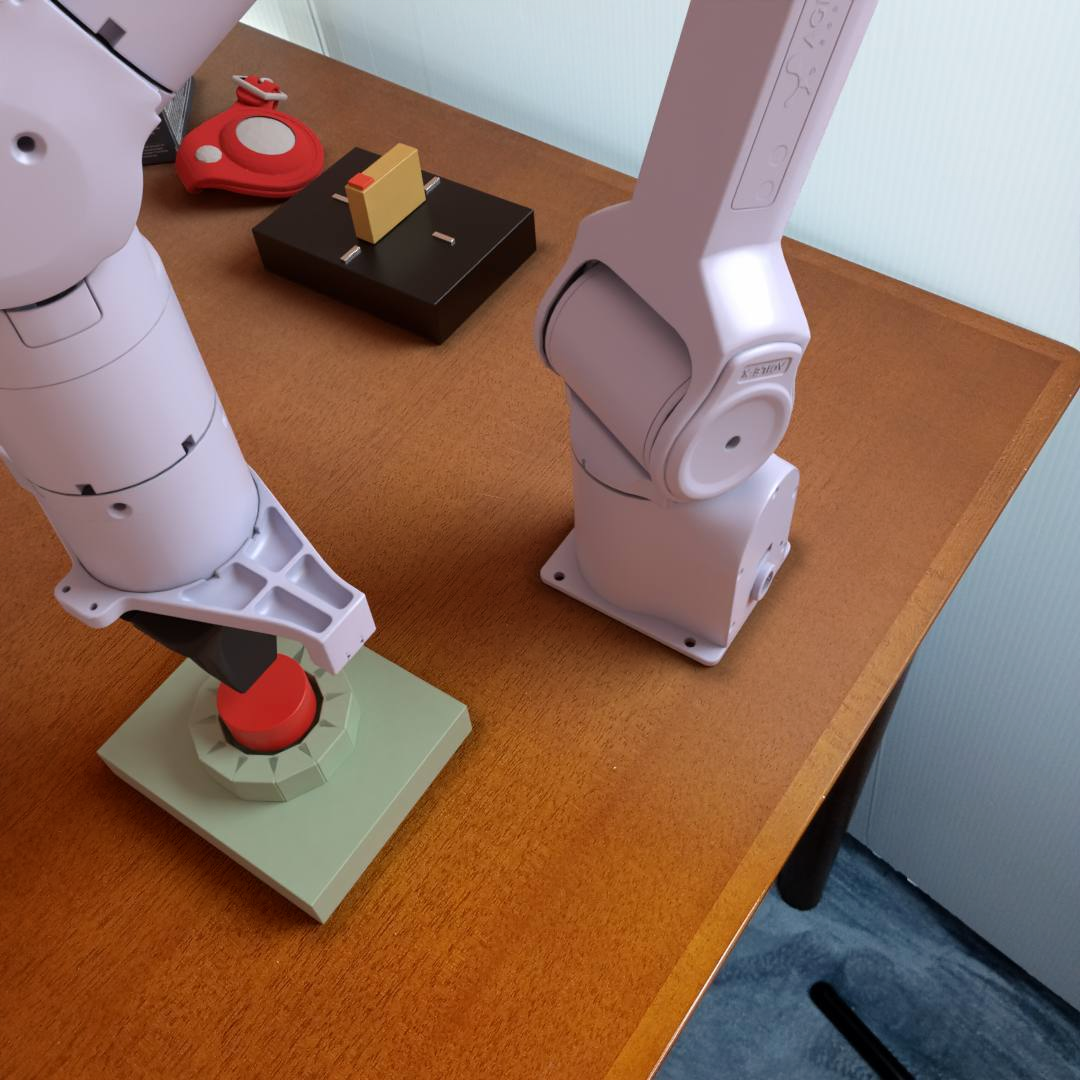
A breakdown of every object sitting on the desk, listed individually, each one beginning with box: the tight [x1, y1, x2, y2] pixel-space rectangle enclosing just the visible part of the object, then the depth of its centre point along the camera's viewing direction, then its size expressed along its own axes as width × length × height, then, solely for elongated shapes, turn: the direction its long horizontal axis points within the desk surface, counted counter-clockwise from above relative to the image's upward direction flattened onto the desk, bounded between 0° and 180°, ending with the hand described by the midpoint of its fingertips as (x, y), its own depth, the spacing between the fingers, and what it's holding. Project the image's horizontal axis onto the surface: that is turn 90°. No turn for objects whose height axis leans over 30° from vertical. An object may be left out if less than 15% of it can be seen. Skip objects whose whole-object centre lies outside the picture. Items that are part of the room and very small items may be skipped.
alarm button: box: [216, 653, 316, 751], centre depth 43 cm, size 4×4×2 cm
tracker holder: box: [174, 74, 325, 199], centre depth 73 cm, size 12×4×10 cm
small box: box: [142, 74, 196, 166], centre depth 74 cm, size 11×6×10 cm, turn 6°
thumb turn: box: [345, 142, 426, 244], centre depth 63 cm, size 5×1×4 cm, turn 146°
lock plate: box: [251, 146, 538, 345], centre depth 65 cm, size 14×10×3 cm
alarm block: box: [96, 636, 473, 925], centre depth 45 cm, size 12×10×4 cm
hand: (248, 667), depth 41 cm, fingers closed
